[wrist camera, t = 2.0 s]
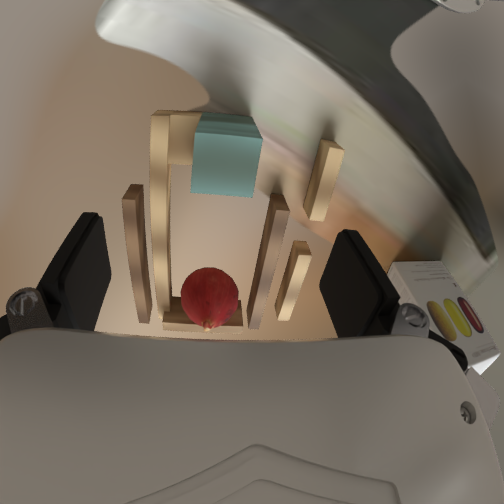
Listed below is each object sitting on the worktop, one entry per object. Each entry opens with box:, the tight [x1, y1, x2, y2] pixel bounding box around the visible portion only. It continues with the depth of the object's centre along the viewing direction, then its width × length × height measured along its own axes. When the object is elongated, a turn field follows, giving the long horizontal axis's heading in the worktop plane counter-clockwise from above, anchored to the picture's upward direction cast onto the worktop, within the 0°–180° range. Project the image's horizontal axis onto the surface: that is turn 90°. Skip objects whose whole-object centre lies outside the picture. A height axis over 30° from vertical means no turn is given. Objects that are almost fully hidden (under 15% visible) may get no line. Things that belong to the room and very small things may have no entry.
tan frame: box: [150, 110, 263, 334], centre depth 25 cm, size 22×10×7 cm, turn 171°
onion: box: [181, 268, 238, 331], centre depth 29 cm, size 6×6×8 cm
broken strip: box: [275, 139, 345, 320], centre depth 29 cm, size 21×1×2 cm, turn 171°
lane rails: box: [122, 184, 290, 329], centre depth 29 cm, size 16×14×3 cm
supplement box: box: [387, 261, 500, 374], centre depth 30 cm, size 10×9×17 cm
